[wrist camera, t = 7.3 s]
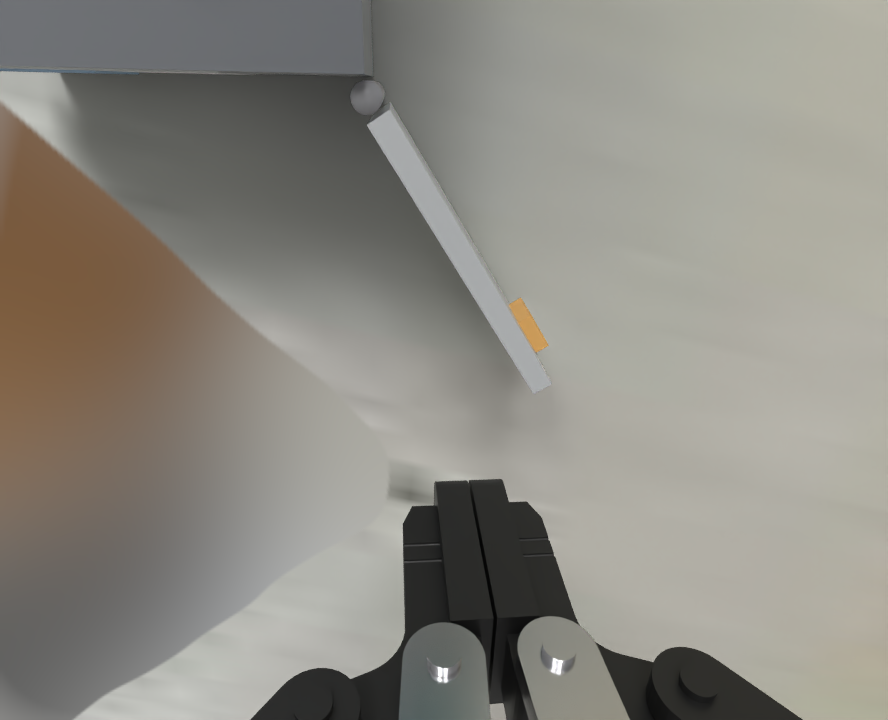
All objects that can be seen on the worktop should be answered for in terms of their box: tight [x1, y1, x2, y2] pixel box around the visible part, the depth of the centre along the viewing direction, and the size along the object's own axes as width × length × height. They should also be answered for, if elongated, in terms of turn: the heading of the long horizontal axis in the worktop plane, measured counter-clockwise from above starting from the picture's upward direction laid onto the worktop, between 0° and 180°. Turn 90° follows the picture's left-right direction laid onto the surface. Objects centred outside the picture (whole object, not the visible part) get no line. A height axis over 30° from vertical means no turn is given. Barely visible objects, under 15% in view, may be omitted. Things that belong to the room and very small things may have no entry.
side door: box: [350, 80, 552, 394], centre depth 21 cm, size 2×12×7 cm, turn 31°
